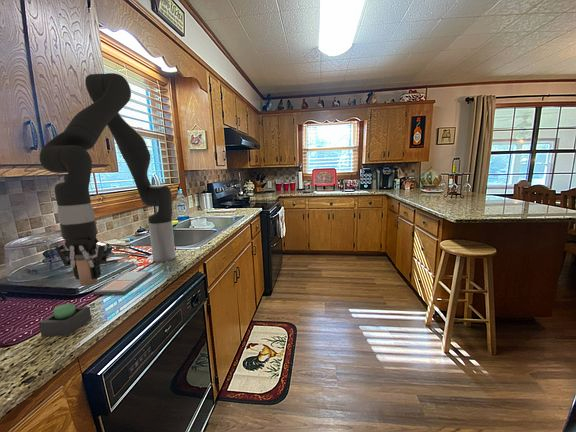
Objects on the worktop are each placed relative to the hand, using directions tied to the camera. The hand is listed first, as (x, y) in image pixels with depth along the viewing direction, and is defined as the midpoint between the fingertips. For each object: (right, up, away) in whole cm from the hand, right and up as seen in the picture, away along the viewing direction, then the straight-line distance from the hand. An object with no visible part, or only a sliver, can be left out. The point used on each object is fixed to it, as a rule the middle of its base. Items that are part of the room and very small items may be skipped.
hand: (88, 278), depth 71 cm
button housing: (+2, -10, -9) cm, 14 cm away
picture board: (0, -6, +16) cm, 17 cm away
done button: (+2, -7, -9) cm, 12 cm away
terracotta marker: (0, -1, 0) cm, 2 cm away
